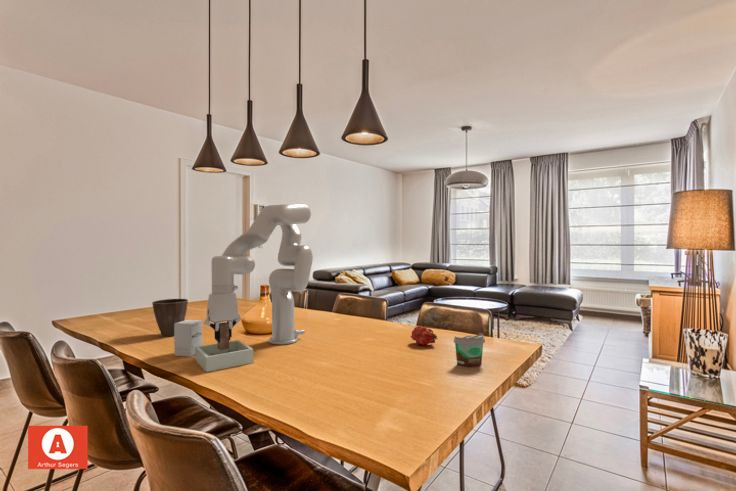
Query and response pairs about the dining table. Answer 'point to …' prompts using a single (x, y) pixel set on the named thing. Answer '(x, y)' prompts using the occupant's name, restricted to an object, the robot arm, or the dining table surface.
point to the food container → (469, 350)
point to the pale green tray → (223, 356)
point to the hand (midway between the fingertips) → (223, 339)
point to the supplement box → (187, 337)
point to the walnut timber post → (223, 336)
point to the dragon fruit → (423, 335)
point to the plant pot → (169, 314)
